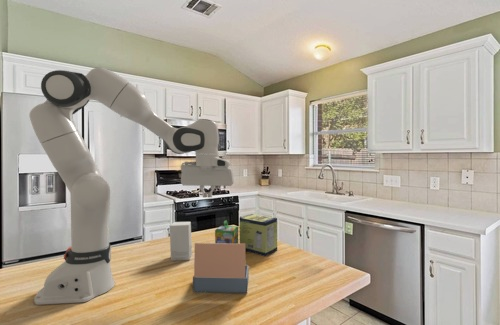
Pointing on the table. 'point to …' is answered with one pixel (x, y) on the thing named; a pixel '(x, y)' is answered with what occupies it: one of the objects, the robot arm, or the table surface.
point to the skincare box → (180, 241)
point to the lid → (219, 260)
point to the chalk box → (226, 234)
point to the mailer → (221, 284)
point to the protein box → (258, 234)
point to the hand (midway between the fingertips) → (207, 197)
